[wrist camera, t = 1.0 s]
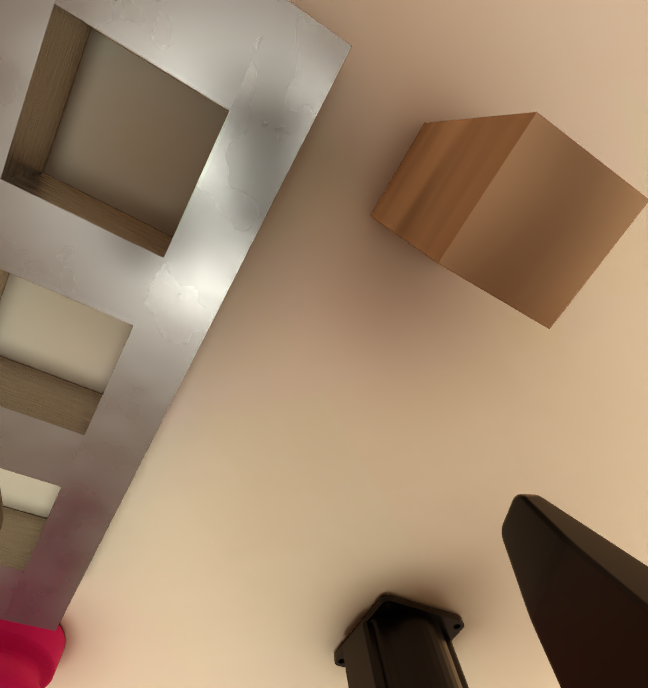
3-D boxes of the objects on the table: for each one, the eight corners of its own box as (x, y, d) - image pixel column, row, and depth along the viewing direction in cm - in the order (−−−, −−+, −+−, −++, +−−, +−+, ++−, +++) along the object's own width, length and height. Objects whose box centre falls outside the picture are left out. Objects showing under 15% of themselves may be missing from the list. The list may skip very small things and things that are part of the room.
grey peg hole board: (337, 61, 17) (351, 46, 14) (78, 577, 25) (55, 631, 22) (47, -141, 14) (-6, -211, 11) (-136, 523, 22) (-193, 577, 19)
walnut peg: (501, 176, 19) (649, 199, 12) (445, 260, 20) (549, 329, 13) (424, 122, 18) (536, 112, 11) (370, 215, 19) (438, 263, 12)
